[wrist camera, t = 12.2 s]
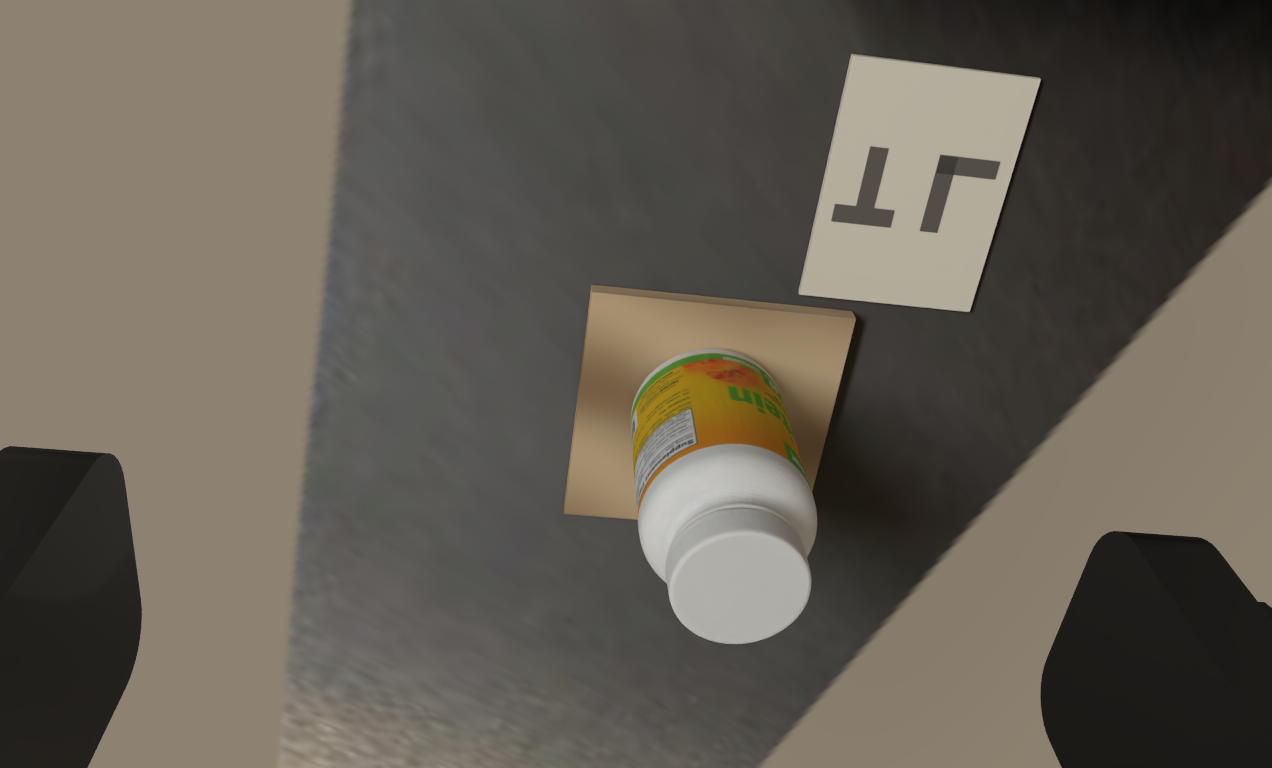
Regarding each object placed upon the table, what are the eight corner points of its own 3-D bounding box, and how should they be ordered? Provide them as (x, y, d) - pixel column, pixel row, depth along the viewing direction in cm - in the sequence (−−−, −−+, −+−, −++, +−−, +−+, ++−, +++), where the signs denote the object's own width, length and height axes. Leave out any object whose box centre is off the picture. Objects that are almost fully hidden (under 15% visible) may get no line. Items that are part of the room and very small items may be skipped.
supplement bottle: (813, 406, 39) (879, 583, 31) (705, 500, 41) (739, 692, 32) (705, 313, 37) (743, 475, 29) (597, 417, 39) (602, 598, 31)
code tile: (851, 53, 34) (852, 55, 34) (1038, 77, 34) (1041, 79, 34) (798, 292, 38) (799, 294, 37) (968, 309, 38) (969, 312, 38)
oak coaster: (591, 284, 37) (591, 292, 37) (852, 311, 38) (856, 318, 38) (564, 504, 41) (564, 513, 41) (799, 523, 42) (801, 532, 42)
